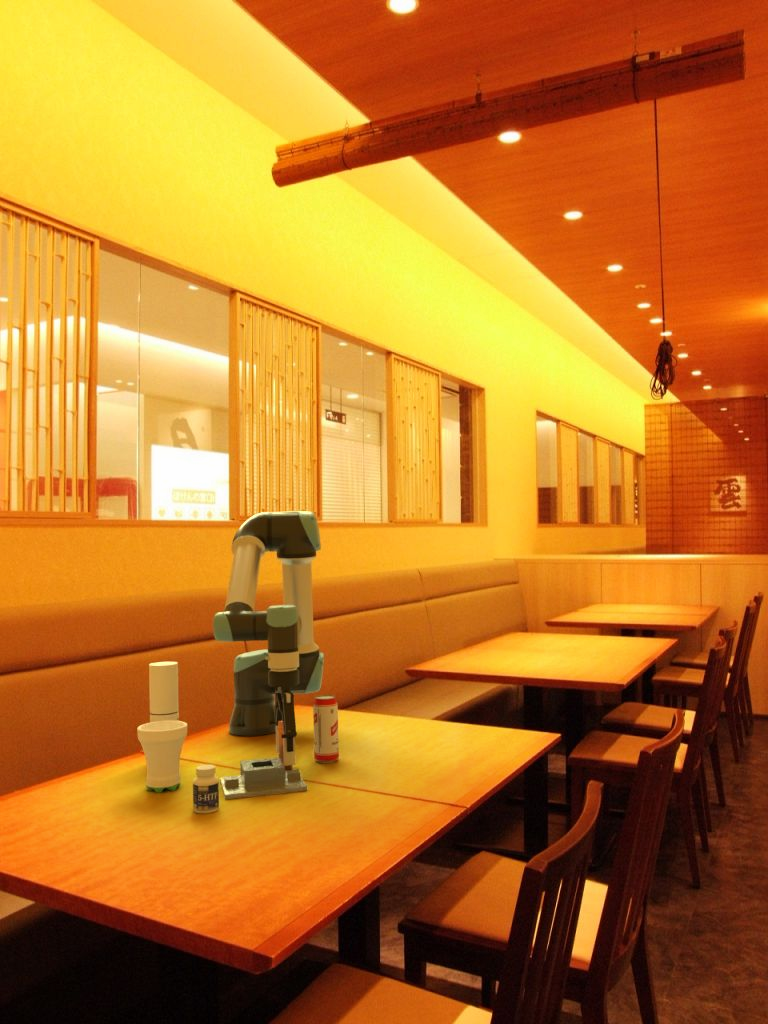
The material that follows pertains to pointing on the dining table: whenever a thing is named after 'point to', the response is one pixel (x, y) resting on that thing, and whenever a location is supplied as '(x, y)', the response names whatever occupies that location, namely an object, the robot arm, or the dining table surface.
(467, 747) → the dining table surface
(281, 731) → the rounded pin
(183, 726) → the cup
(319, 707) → the beer can
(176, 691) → the cylindrical container
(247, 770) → the grey socket base
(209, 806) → the pill bottle
